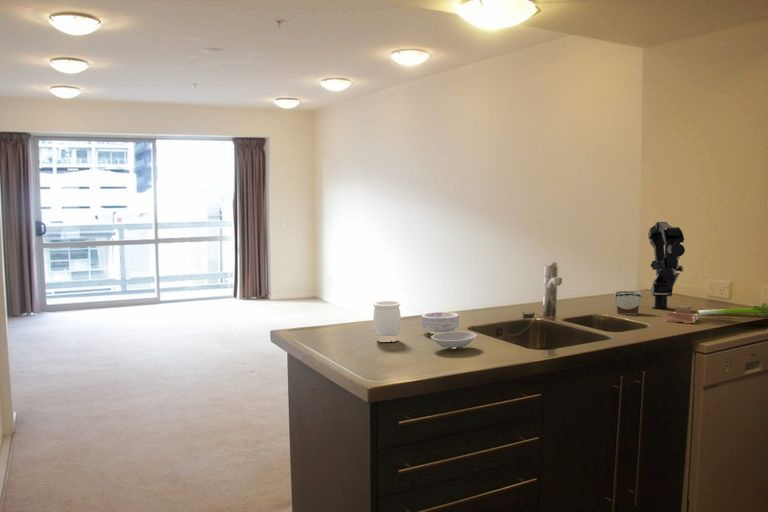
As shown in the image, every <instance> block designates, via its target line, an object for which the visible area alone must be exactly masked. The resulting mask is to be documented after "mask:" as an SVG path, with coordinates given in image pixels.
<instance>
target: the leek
mask: <svg viewBox="0 0 768 512" xmlns="http://www.w3.org/2000/svg"><path fill="white" fill-rule="evenodd" d="M696 314H698V316H710V315H723V314H726V315H727V314H754V315H755V316H757V315H758V314H761V315H764V317H765V318H768V304H766V303H762V305H756V306H755V305H754V306H753V307H749V308H748V307H747V308H745V307H744V308H721V309H720V308H719V309H703V310H701V309H700V310H696Z"/></svg>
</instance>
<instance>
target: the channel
mask: <svg viewBox="0 0 768 512" xmlns="http://www.w3.org/2000/svg"><path fill="white" fill-rule="evenodd" d="M696 320H697V321H698V320H699V313H694V314H693V313H691V314H685V313H676V311H673V312H671V311H667V312H666V322H667V321H672V322H671V323H677V322H683V323H682V324H687V323H693V322H694V323H696V322H697V321H696ZM694 323H693V324H694Z"/></svg>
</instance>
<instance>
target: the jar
mask: <svg viewBox="0 0 768 512" xmlns="http://www.w3.org/2000/svg"><path fill="white" fill-rule="evenodd" d="M372 304H373V305H372V306H373V308H374V311H373V325H374V331H375V333H376V336H377V335H380V336H396V335H397V336H398V335H399V332H400V328H401V327H400V326H401V316H402V315H401V311H400V306H401V303H400V302H399V301H391V300H390V301H389V300H386V301H385V300H383V301H376V302H373V303H372Z"/></svg>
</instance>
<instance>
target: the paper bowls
mask: <svg viewBox="0 0 768 512" xmlns="http://www.w3.org/2000/svg"><path fill="white" fill-rule="evenodd" d="M459 326H460V317H459V314H458V313H456V312H455V313H454V312H444V311H441V312H440V311H439V312H428V313H424V314H422V315H421V327H422V328H423V329H427V330H429V331H434V332H449V331H453V330H454V331H455V330H456V328H459ZM427 330H426V331H427Z"/></svg>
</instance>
